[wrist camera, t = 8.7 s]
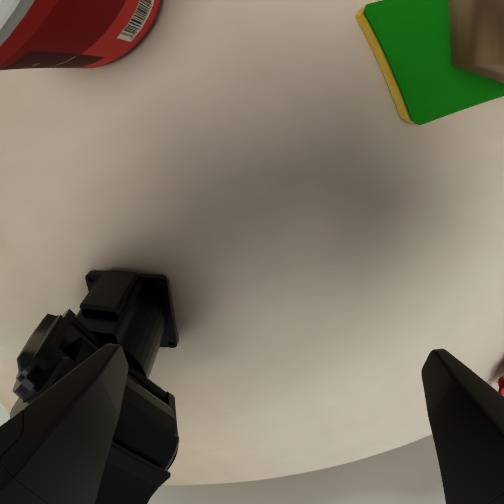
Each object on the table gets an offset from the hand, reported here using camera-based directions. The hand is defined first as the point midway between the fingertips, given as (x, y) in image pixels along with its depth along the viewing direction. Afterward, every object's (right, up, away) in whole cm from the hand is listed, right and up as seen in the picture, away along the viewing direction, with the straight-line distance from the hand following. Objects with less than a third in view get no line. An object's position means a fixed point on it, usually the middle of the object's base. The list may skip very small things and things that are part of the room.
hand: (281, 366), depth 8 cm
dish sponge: (+13, +16, +5) cm, 21 cm away
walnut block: (+12, +15, +3) cm, 20 cm away
